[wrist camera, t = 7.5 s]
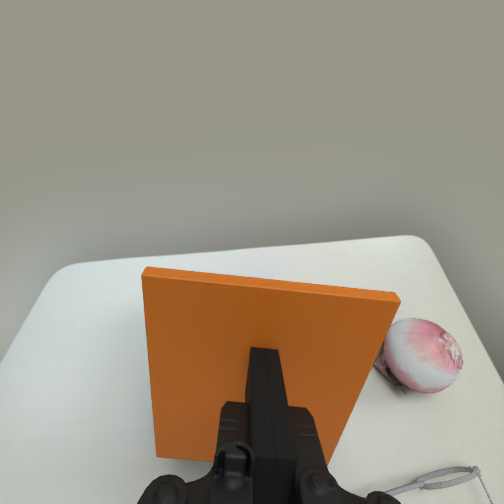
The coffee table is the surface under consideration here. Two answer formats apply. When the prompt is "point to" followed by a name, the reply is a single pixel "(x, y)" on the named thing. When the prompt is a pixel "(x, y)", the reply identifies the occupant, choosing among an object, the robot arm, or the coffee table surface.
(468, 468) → the eyeglasses
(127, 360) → the coffee table surface
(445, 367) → the onion
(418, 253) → the coffee table surface
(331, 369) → the lid
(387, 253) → the coffee table surface
